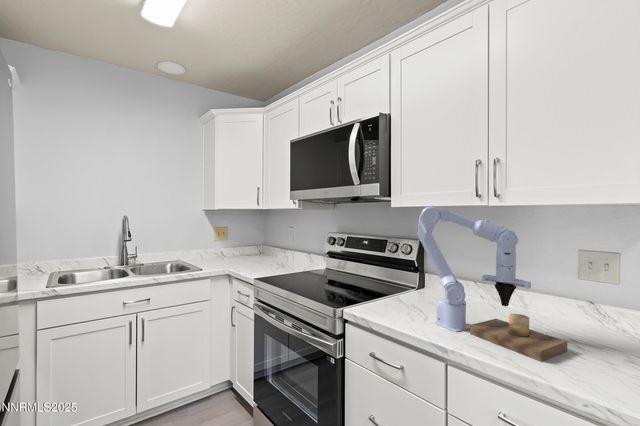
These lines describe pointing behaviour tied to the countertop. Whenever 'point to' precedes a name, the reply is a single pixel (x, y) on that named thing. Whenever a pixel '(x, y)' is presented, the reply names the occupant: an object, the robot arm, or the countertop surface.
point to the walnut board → (519, 340)
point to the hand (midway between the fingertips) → (505, 305)
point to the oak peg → (519, 325)
